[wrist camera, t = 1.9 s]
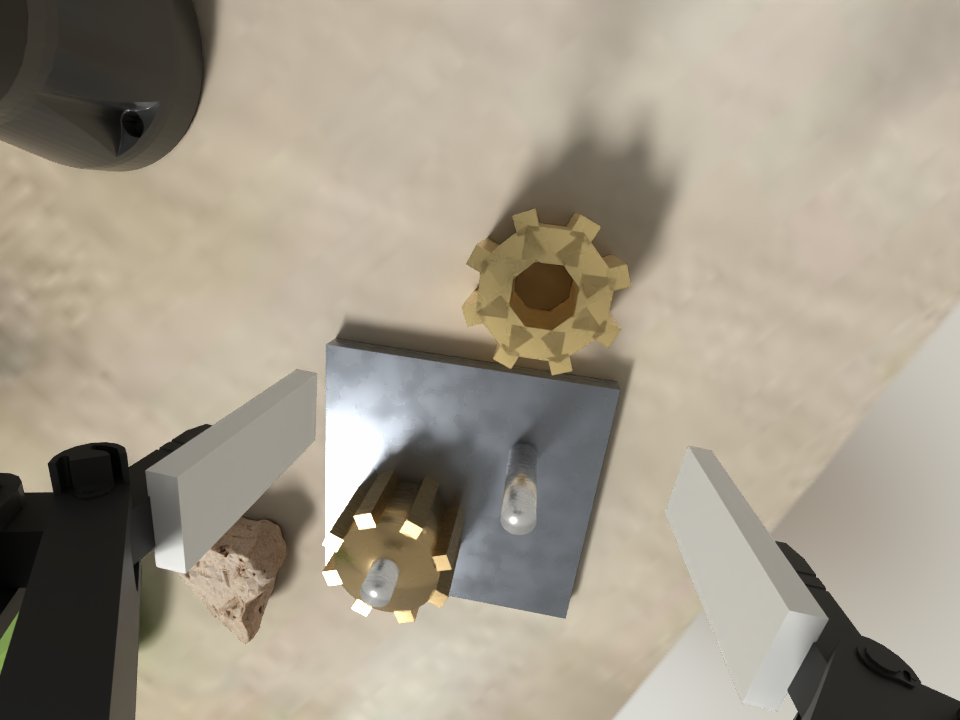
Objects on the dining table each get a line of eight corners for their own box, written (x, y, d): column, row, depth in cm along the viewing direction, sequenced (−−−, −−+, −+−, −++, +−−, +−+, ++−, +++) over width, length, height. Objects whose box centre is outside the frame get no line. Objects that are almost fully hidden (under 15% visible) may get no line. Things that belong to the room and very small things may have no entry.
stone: (305, 529, 39) (273, 573, 34) (271, 615, 43) (238, 665, 38) (210, 484, 39) (165, 522, 34) (185, 575, 43) (141, 620, 38)
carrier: (335, 338, 33) (268, 381, 25) (616, 381, 31) (643, 443, 23) (333, 558, 39) (280, 648, 31) (564, 603, 38) (570, 710, 30)
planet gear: (484, 201, 28) (472, 201, 24) (628, 219, 28) (645, 222, 23) (468, 337, 31) (456, 360, 27) (598, 356, 30) (608, 384, 26)
